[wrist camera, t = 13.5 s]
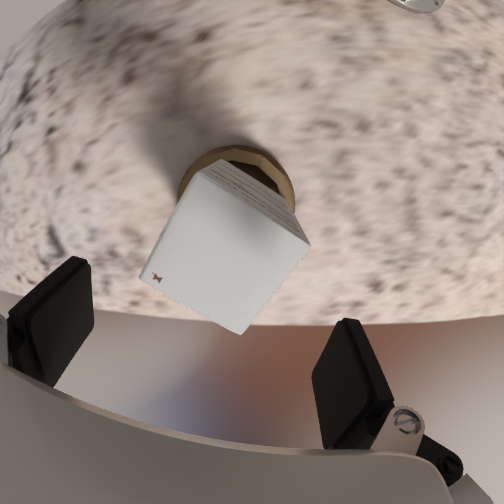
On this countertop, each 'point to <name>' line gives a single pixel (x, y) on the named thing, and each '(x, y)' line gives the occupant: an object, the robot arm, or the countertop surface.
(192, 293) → the supplement box
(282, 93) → the countertop surface
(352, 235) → the countertop surface
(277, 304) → the countertop surface
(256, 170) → the coaster tray
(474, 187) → the countertop surface
